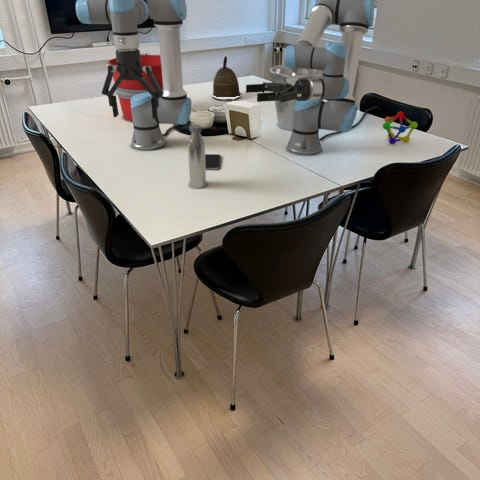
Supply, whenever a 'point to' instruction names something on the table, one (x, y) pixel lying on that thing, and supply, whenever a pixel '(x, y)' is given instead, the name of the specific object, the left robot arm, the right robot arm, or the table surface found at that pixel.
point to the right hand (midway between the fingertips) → (251, 93)
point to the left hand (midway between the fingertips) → (135, 116)
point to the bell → (225, 82)
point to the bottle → (197, 160)
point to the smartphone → (212, 161)
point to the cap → (195, 128)
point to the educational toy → (398, 128)
